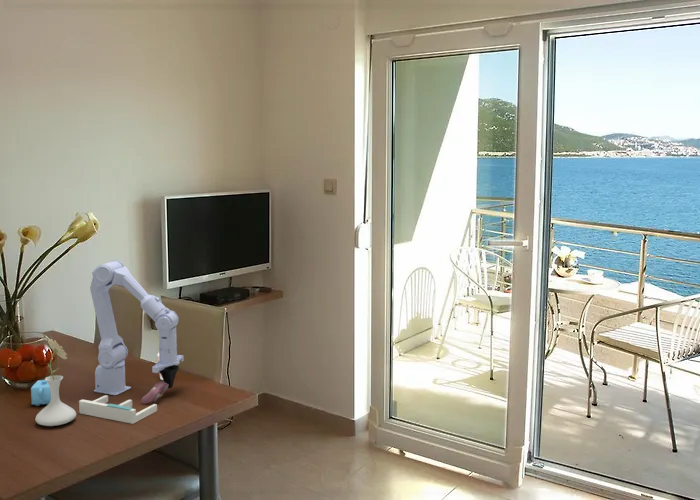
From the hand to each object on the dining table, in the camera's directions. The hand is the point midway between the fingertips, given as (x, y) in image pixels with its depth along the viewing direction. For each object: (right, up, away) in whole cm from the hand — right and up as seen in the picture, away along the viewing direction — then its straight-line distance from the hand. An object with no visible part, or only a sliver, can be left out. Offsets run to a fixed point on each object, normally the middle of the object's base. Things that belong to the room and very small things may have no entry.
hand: (168, 387), depth 232 cm
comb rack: (-11, -5, -15) cm, 19 cm away
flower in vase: (-28, -6, -23) cm, 37 cm away
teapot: (-38, -3, -8) cm, 39 cm away
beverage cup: (-5, 0, +17) cm, 18 cm away
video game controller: (-3, -3, -5) cm, 6 cm away
